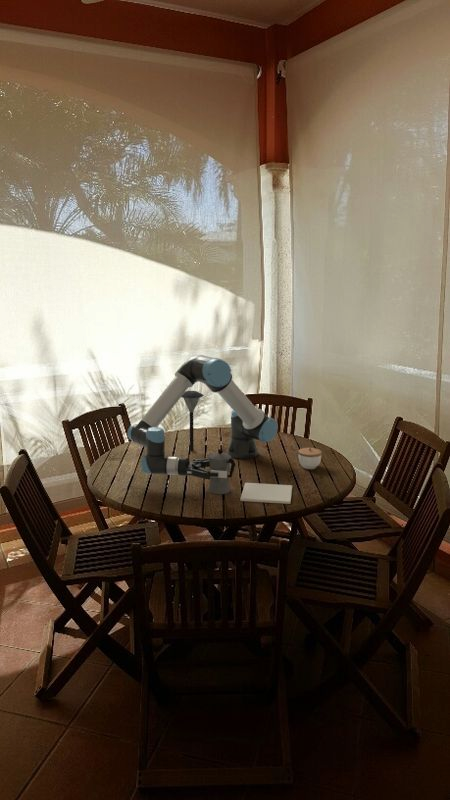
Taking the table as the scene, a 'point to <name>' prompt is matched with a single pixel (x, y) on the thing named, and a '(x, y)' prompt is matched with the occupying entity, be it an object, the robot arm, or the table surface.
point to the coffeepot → (220, 464)
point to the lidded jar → (309, 457)
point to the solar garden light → (191, 409)
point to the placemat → (267, 493)
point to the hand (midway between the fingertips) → (229, 468)
